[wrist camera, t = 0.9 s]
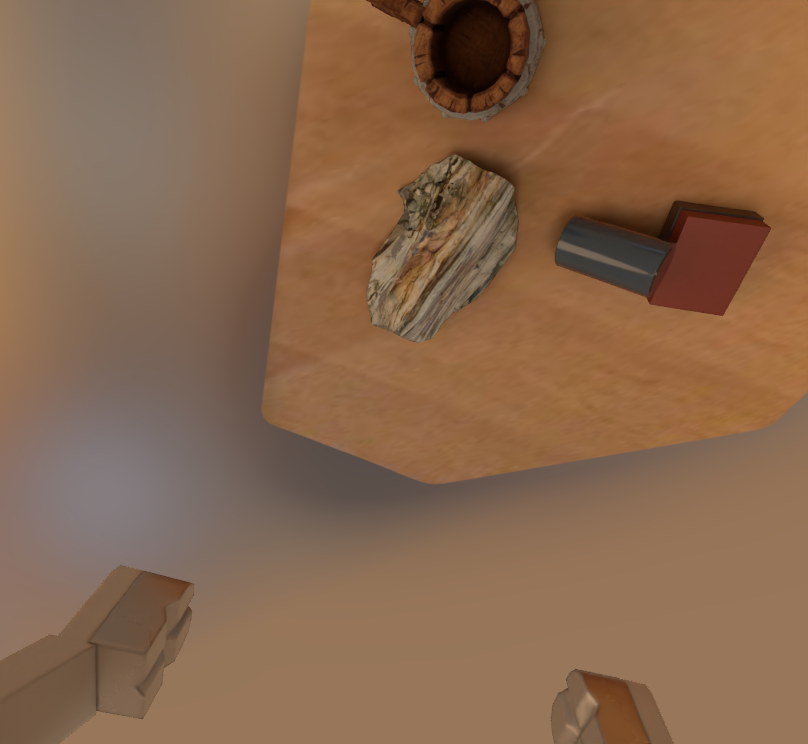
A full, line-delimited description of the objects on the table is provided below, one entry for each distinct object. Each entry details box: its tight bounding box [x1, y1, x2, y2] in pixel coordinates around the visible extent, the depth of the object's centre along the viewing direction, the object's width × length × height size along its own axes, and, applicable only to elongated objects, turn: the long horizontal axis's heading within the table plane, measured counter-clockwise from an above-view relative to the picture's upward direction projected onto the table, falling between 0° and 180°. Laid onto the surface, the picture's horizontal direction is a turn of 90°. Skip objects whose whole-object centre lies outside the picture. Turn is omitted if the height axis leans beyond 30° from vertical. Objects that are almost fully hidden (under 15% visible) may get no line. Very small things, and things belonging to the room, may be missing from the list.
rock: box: [367, 155, 518, 343], centre depth 55 cm, size 23×7×15 cm
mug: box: [367, 0, 546, 122], centre depth 39 cm, size 12×14×15 cm
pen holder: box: [555, 215, 676, 298], centre depth 48 cm, size 6×6×10 cm
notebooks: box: [647, 201, 771, 316], centre depth 49 cm, size 8×10×5 cm
